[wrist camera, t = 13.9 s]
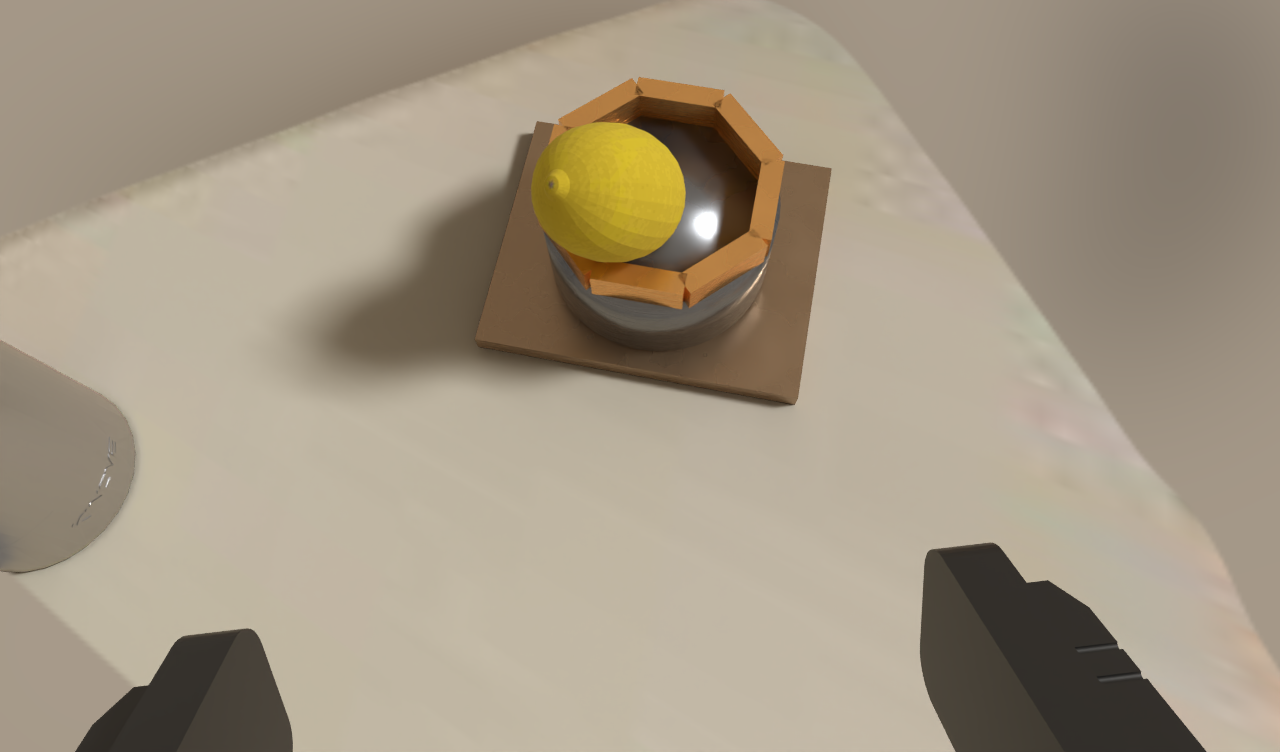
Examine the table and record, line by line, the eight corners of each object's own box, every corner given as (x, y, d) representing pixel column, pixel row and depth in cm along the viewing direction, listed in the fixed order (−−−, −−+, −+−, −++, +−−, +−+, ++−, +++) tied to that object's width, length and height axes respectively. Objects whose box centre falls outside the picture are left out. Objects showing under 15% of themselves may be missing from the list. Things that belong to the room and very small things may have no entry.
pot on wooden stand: (478, 346, 44) (444, 280, 37) (539, 132, 48) (519, 36, 41) (794, 404, 43) (822, 347, 35) (827, 179, 47) (858, 88, 40)
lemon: (699, 277, 38) (594, 277, 31) (598, 246, 41) (481, 240, 34) (731, 150, 37) (628, 121, 30) (624, 126, 39) (507, 94, 32)
